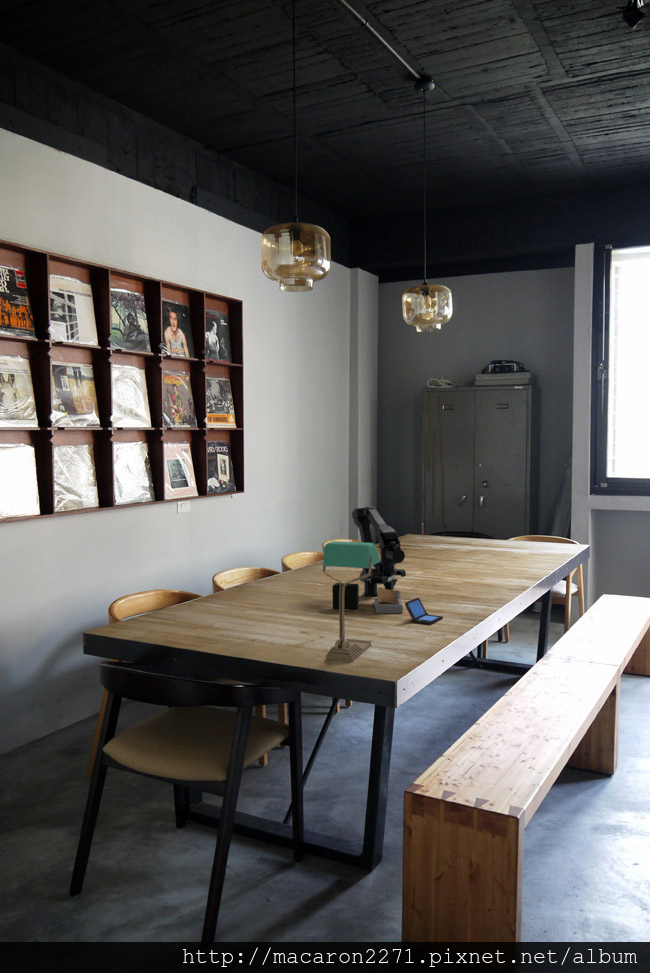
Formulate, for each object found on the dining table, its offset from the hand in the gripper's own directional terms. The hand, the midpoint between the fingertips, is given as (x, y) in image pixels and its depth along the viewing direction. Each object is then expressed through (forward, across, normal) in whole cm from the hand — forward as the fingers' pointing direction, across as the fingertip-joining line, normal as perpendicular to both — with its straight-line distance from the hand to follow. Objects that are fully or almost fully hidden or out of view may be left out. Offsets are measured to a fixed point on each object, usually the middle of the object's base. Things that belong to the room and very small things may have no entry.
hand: (389, 596), depth 317 cm
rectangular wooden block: (+2, +3, +2) cm, 4 cm away
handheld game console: (+2, +20, +29) cm, 35 cm away
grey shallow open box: (+2, +12, +7) cm, 14 cm away
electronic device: (+1, +22, -6) cm, 23 cm away
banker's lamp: (0, +71, +32) cm, 78 cm away
